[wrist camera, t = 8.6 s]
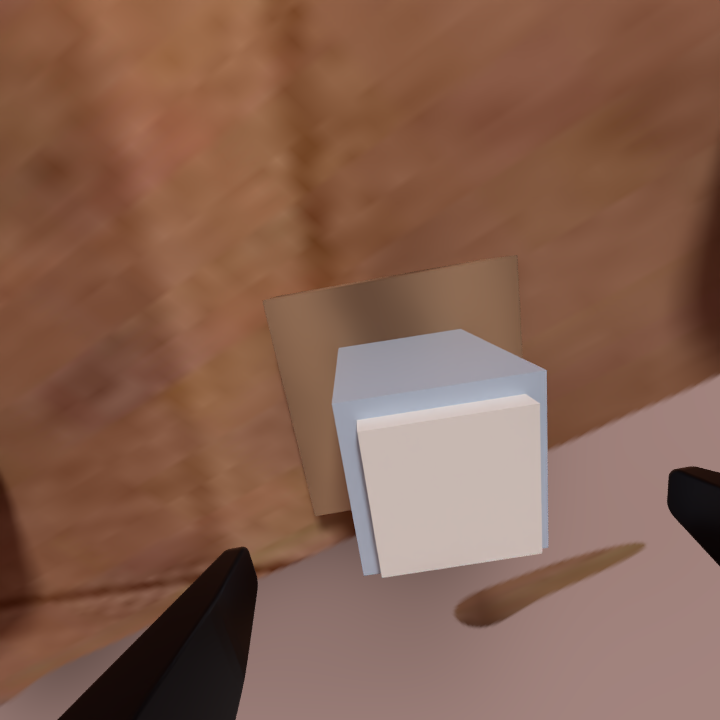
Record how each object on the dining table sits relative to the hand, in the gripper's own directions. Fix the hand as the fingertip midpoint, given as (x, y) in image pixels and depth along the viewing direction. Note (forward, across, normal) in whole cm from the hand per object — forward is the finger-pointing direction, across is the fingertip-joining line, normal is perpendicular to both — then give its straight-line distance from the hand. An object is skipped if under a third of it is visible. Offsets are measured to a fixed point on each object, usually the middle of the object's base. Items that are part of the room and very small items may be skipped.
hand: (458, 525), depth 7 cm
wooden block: (+11, 0, 0) cm, 11 cm away
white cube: (+7, 0, 0) cm, 7 cm away
